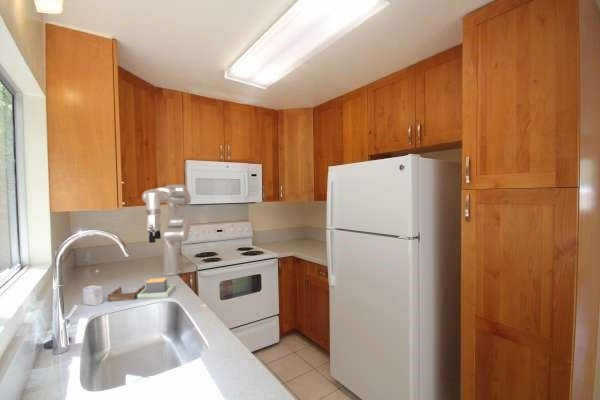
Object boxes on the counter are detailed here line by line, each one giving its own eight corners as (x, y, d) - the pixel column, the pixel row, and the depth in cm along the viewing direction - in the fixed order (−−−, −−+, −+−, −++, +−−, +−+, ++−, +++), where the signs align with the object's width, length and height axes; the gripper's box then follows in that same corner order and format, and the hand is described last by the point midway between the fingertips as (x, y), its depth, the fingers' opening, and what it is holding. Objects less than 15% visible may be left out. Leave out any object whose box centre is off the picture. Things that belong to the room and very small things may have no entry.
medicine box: (103, 302, 141) (102, 286, 140) (94, 306, 136) (94, 289, 136) (91, 301, 143) (91, 285, 142) (83, 304, 138) (82, 288, 138)
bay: (119, 293, 154) (119, 287, 154) (145, 291, 156) (144, 285, 156) (108, 301, 142) (108, 295, 142) (135, 299, 144) (135, 293, 144)
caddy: (150, 291, 154) (149, 278, 154) (167, 289, 155) (166, 277, 155) (146, 294, 149) (146, 281, 149) (164, 293, 150) (163, 280, 150)
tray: (147, 290, 158) (147, 285, 158) (175, 288, 160) (175, 284, 160) (137, 299, 144) (137, 294, 144) (167, 297, 146) (167, 292, 146)
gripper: (151, 210, 170) (153, 237, 171) (141, 214, 153) (142, 244, 155) (164, 210, 171) (166, 237, 173) (155, 213, 155) (157, 243, 156)
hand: (155, 240), depth 164 cm, fingers open, 9 cm apart
